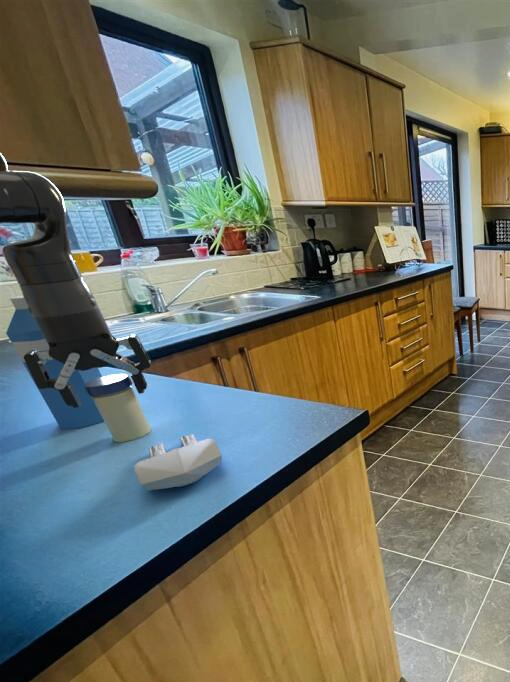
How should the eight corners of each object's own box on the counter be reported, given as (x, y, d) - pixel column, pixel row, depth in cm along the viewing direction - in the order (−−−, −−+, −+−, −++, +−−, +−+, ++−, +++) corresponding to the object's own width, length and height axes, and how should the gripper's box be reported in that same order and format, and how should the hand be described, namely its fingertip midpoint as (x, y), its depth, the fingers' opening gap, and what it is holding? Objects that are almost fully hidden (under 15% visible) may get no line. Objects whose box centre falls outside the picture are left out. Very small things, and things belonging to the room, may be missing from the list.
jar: (107, 444, 72) (80, 392, 68) (121, 430, 77) (96, 380, 72) (144, 438, 74) (119, 386, 69) (156, 424, 78) (133, 375, 74)
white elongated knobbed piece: (211, 444, 75) (201, 421, 73) (232, 474, 61) (221, 446, 59) (141, 468, 68) (129, 443, 67) (148, 508, 54) (132, 477, 53)
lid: (112, 395, 69) (107, 386, 68) (78, 397, 69) (73, 387, 68) (140, 382, 74) (136, 373, 73) (109, 383, 74) (104, 374, 73)
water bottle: (74, 432, 76) (2, 303, 66) (47, 425, 80) (-26, 300, 69) (131, 410, 84) (74, 292, 74) (104, 405, 87) (46, 290, 77)
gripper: (126, 299, 71) (162, 381, 78) (8, 313, 64) (59, 403, 70) (121, 305, 66) (160, 394, 72) (-8, 322, 58) (49, 419, 65)
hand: (110, 399), depth 71 cm, fingers open, 8 cm apart
